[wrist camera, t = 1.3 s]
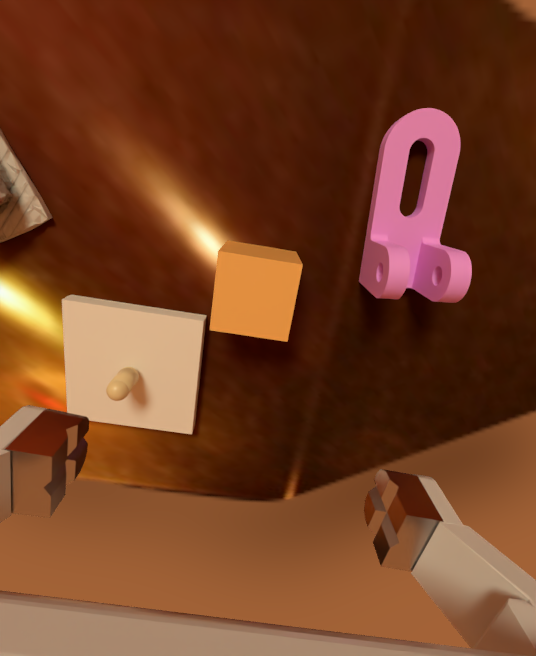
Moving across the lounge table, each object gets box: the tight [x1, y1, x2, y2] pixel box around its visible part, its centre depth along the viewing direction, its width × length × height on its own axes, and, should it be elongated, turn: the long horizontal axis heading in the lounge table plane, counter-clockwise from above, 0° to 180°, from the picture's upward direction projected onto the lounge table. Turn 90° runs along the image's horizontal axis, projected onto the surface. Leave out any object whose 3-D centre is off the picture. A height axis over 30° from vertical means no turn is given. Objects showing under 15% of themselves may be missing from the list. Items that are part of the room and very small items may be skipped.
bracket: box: [359, 108, 472, 303], centre depth 25 cm, size 13×6×7 cm, turn 176°
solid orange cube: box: [210, 240, 303, 342], centre depth 27 cm, size 6×6×6 cm
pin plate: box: [62, 295, 207, 434], centre depth 31 cm, size 12×12×6 cm
